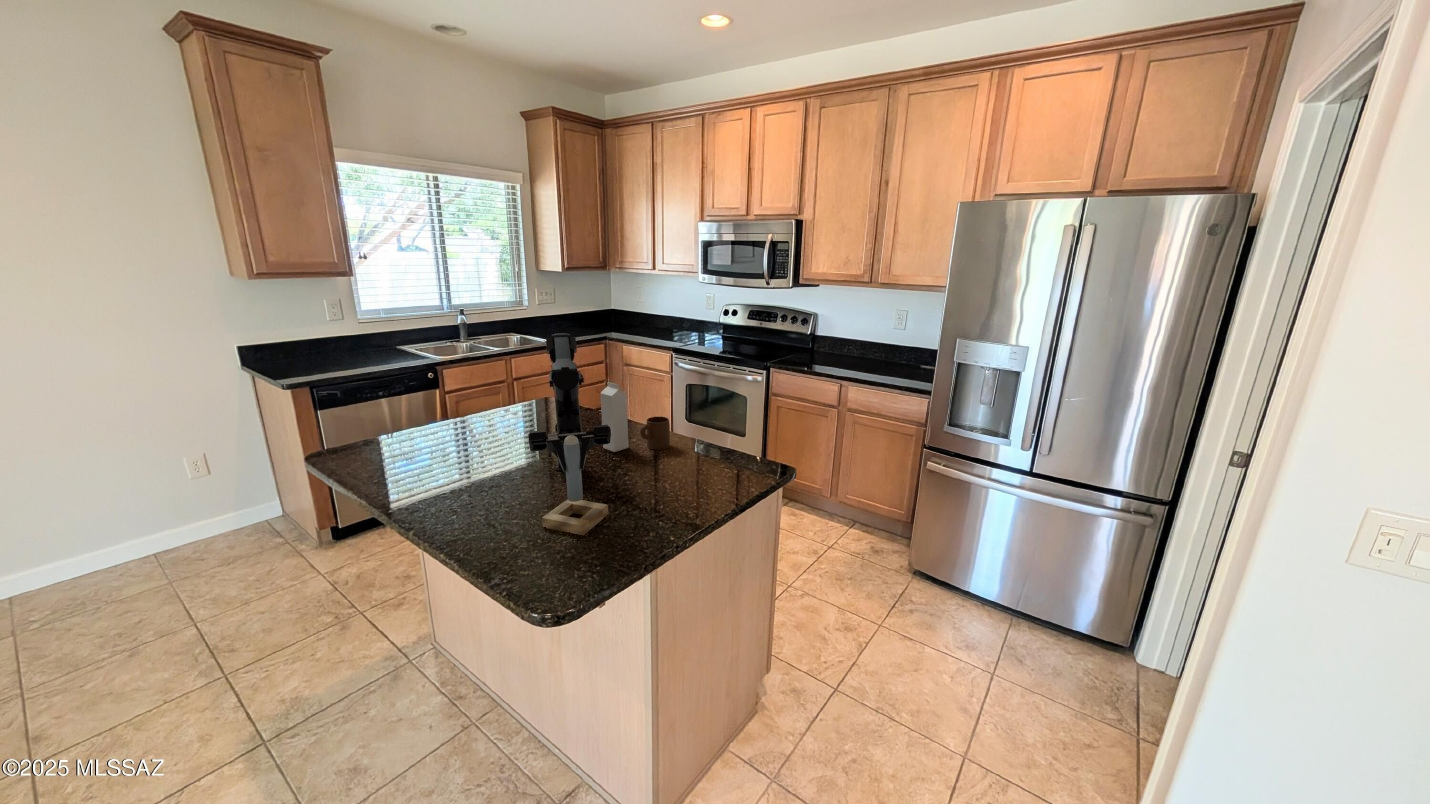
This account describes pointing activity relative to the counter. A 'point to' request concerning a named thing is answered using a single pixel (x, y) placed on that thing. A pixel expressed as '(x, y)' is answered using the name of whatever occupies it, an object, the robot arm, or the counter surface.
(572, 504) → the wooden square frame
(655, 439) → the mug
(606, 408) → the milk
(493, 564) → the counter surface
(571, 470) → the blue-grey cylinder
